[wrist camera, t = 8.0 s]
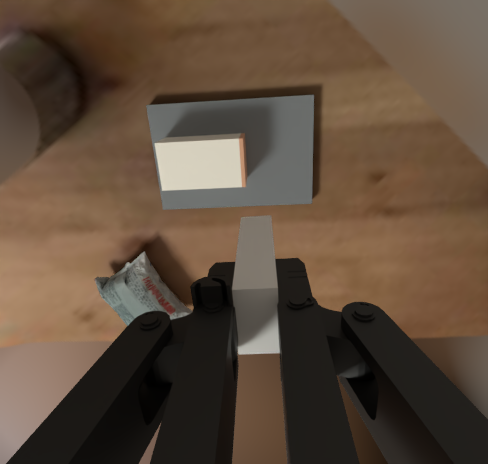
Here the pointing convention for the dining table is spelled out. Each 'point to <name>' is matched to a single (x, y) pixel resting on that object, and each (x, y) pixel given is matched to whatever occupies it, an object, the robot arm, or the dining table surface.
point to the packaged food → (139, 292)
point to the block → (202, 162)
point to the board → (257, 148)
